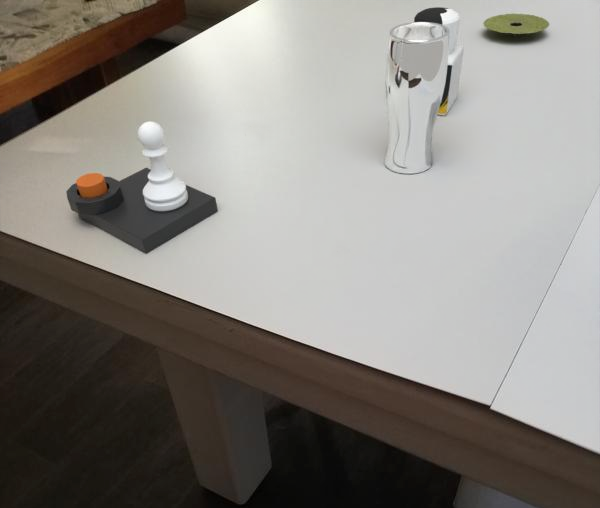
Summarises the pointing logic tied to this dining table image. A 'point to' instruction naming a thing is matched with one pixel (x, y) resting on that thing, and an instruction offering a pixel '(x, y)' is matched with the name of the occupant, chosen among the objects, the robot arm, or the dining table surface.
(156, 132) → the chess pawn
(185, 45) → the dining table surface
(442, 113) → the medicine bottle
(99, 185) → the tare button
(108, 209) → the dark grey button base
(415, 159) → the beer glass
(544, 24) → the green disc
